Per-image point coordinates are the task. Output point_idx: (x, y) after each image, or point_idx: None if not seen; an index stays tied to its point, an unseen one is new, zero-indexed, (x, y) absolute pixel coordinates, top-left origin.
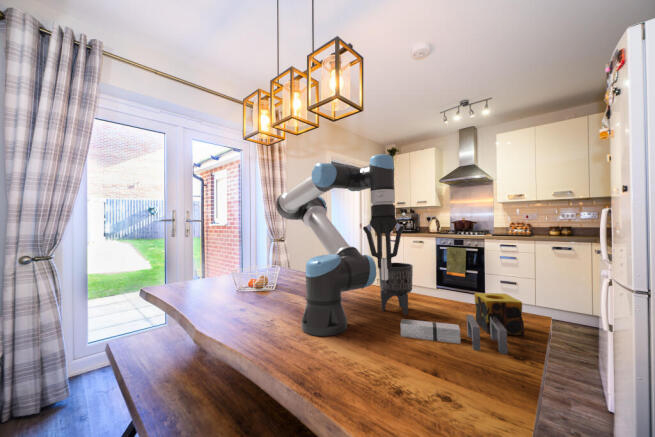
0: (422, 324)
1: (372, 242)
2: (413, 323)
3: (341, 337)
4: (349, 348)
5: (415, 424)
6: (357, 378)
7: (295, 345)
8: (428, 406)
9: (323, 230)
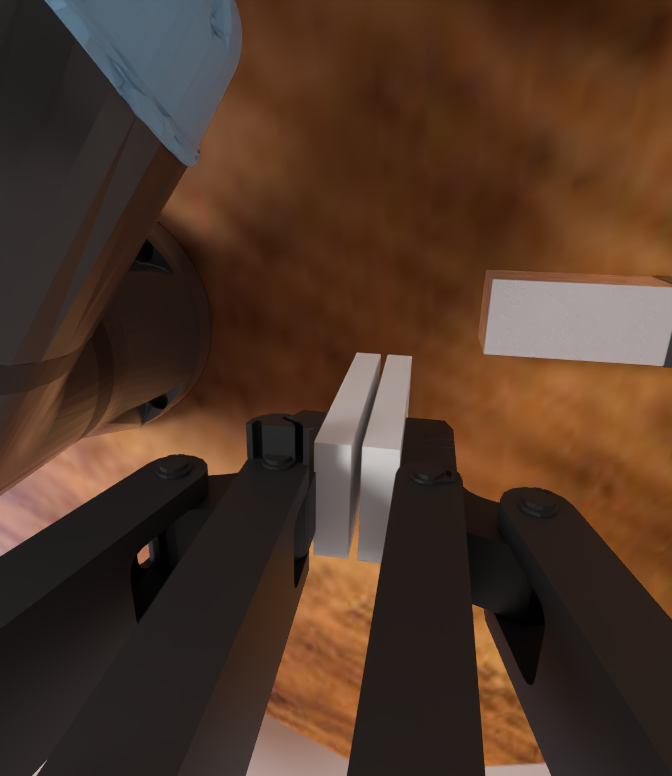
0: (609, 341)
1: (43, 745)
2: (558, 337)
3: (220, 405)
4: None
5: (495, 752)
6: (349, 638)
7: None
8: None
9: None
